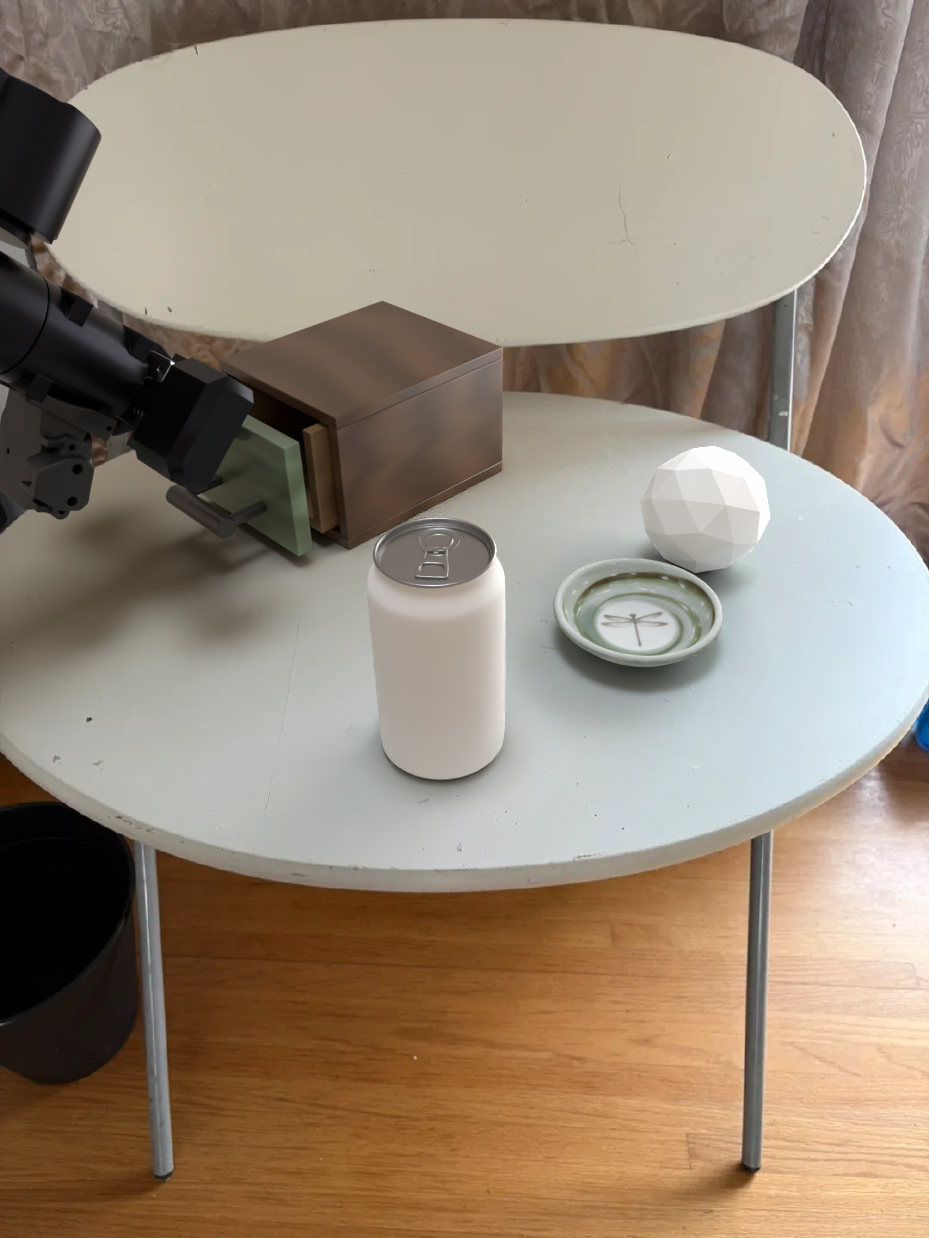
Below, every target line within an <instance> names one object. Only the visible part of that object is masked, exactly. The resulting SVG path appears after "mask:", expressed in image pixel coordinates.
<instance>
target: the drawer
mask: <svg viewBox="0 0 929 1238" xmlns="http://www.w3.org/2000/svg"><path fill="white" fill-rule="evenodd" d="M234 380H236V381H238V382H239V383H241V384H243V385H244V386H246V387H247V388H249V389H251V390H252V391H253V400H254V404H253V406H252V407H251V409H250V411H249V413H248V415H247V417H246V418H245V420H244V422H243V424H242V426H241V428H240V429H239V431H238V433H237V435H236V437H235V439H234V440H233V442H232V444H231V446H230V448H229V450H228V451H227V453H226V455H225V457H224V459H223V461H222V462H221V464H220V466H219V468H218V470H217V472H216V473H215V475H214V477H213V479H212V481H211V483H210V484H209V486H208V488H206V489H204V490H202V491H200V492H198V493H195V492H193V491H191V490H189V489H186V488H184V487H182V486H180V485H178V484H172V485H171V486H169V488H168V489H167V491H166V493H165V499H166V501H167V503H168V504H170V505H171V506H172V507H174V508H176V509H177V510H179V511H180V512H181V513H183V515H184V514H185V516H187V517H189V518H190V519H192V520H193V521H194V522H196V523H198V524H199V525H201V526H202V527H203V528H205V529H206V530H209V532H211V533H212V534H214V535H215V536H217V537H218V538H220V539H228V538H230V537H231V536H232V535H233V534H234V533H235V531H236V527H237V526H239V525H241V524H244V523H246V524H247V525H249V526H251V527H252V528H253V529H255V530H257V531H258V532H260V533H261V534H263V535H265V536H266V537H268V538H269V539H270V540H272V541H274V542H275V543H277V544H279V545H280V546H282V547H283V548H285V549H286V550H288V551H289V552H290V553H292V554H294V555H295V556H297V557H301V556H303V555H305V554H307V553H309V552H311V551H313V550H314V548H313V540H312V533H311V528H313V529H314V530H316V531H318V532H319V533H321V534H323V533H324V532H326V531H328V530H330V529H332V528H334V527H336V526H338V525H340V522H339V513H338V504H337V494H336V485H335V476H334V467H333V457H332V448H331V439H330V430H329V425H327V424H325V423H323V422H321V421H319V420H317V419H315V418H313V417H311V416H309V415H307V414H305V413H304V412H302V411H300V410H298V409H296V408H294V407H292V406H290V405H288V404H286V403H284V402H282V401H280V400H278V399H276V398H274V397H272V396H270V395H269V394H267V393H265V392H263V391H261V390H259V389H257V388H255V387H253V386H251V385H249V384H247V383H245V382H243V381H241V380H239V379H234ZM199 495H203V496H204V497H206V498H208V499H209V500H210V501H212V502H213V503H216V504H217V505H218V506H220V507H221V508H223V509H224V510H226V511H227V512H228V513H230V515H228V514H226V513H224V512H222V511H221V510H220V509H218V508H217V507H215V506H214V505H212V504H210V502H207V501H206V500H204V499H202V497H200V496H199Z"/></svg>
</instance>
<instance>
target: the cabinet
mask: <svg viewBox="0 0 929 1238" xmlns="http://www.w3.org/2000/svg"><path fill="white" fill-rule="evenodd" d="M218 363H219V369H220V372H222V373H224V374H226V375H228V376H230V377H231V378H233V379H239V380H241V381H243V382H245V383H247V384H249V385H251V386H253V387H255V388H257V389H259V390H261V391H263V392H265V393H267V394H269V395H270V396H272V397H274V398H276V399H278V400H280V401H282V402H284V403H286V404H288V405H290V406H292V407H294V408H296V409H298V410H300V411H302V412H304V413H305V414H307V415H309V416H311V417H313V418H315V419H317V420H319V421H321V422H323V423H325V424H327V425H329V430H330V439H331V448H332V457H333V467H334V476H335V485H336V494H337V504H338V513H339V522H340V525H338V526H336V527H334V528H332V529H330V530H328V531H326V532H324V533H322V535H325V536H326V537H328V538H329V539H331V540H333V541H335V542H337V544H339V545H341V546H343V547H344V548H346V549H348V550H352V549H353V548H355V547H357V546H359V545H361V544H362V543H365V542H366V541H367V542H368V541H369V540H371V539H372V538H374V537H377V536H379V535H380V534H382V533H385V532H387V531H388V530H390V529H391V528H393V527H395V526H397V525H400V524H402V523H404V522H406V521H407V520H410V519H411V518H413V517H414V516H417V515H419V514H420V513H422V512H424V511H426V510H428V509H430V508H433V507H434V506H436V505H439V504H440V503H442V502H444V501H447V500H448V499H450V498H452V497H453V496H455V495H457V494H459V493H462V492H463V491H465V490H467V489H469V488H471V487H473V486H475V485H477V484H479V483H480V482H482V481H485V480H486V479H488V478H490V477H492V476H494V475H496V474H498V473H500V472H501V471H503V412H504V411H503V408H504V407H503V406H504V405H503V401H504V400H503V399H504V398H503V396H504V395H503V391H504V389H503V387H504V385H503V382H504V381H503V380H504V379H503V378H504V373H503V371H504V348H503V346H501V345H499V344H496V343H493V342H490V341H488V340H485V339H483V338H481V337H478V336H475V335H473V334H470V333H467V332H465V331H462V330H459V329H457V328H454V327H451V326H449V325H446V324H444V323H442V322H439V321H436V320H434V319H431V318H428V317H426V316H424V315H421V314H418V313H415V312H413V311H411V310H408V309H405V308H404V307H401V306H397V305H396V304H393V303H389V302H387V301H384V300H380V301H377V302H374V303H371V304H369V305H366V306H364V307H361V308H358V309H355V310H351V311H349V312H346V313H344V314H341V315H338V316H336V317H333V318H330V319H327V320H323V321H321V322H319V323H316V324H313V325H311V326H307V327H304V328H302V329H299V330H296V331H293V332H291V333H287V334H284V335H283V336H279V337H277V338H275V339H272V340H268V341H266V342H263V343H260V344H257V345H255V346H252V347H249V348H246V349H243V350H241V351H238V352H235V353H232V354H229V355H226V356H224V357H221V358H219V359H218Z"/></svg>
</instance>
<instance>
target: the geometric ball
mask: <svg viewBox="0 0 929 1238" xmlns="http://www.w3.org/2000/svg"><path fill="white" fill-rule="evenodd" d="M646 487H647V488H646V489H645V491H644V493H643V495H642V498H641V500H640V507H641V513H642V521H643V526H644V531H645V534H646V535H647V538H648V539H649V541H650V542H651V543H652V545H653V546H654V547H655V549H656V550H657V552H658V553H659V554H660V556H661V557H662V558H663V559H664V560H666V561H668V562H670V563H673V564H674V565H676V566H678V567H680V568H682V569H684V570H686V571H688V572H691V573H694V574H697V573H703V572H704V573H705V572H709V571H716V570H721V569H728V568H730V567H732V566H733V565H735V564H737V563H738V562H739V561H740V560H742V559H743V558H745V557H746V556H747V555H748V554H750V553H752V552H753V550H754V549H755V548H756V546H757V545H758V543H759V541H760V540H761V537H762V536H763V534H764V531H765V529H766V528H767V525H768V523H769V522H770V520H771V513H770V512H771V511H770V506H769V501H768V496H767V490H766V484H765V479H764V478H763V477H762V476H761V475H760V474H759V473H758V472H757V471H756V470H755V469H754V468H753V467H752V466H751V465H750V464H749V463H748V462H747V461H746V460H745V459H743V458H742V457H740V456H739V455H737V454H736V453H735V452H732V451H729V450H727V449H723V448H721V447H718V446H715V445H712V446H704V447H703V446H702V447H695V448H690V449H689V450H686V451H683V452H681V453H679V454H678V455H676V456H674V457H672V458H671V459H669V460H668V461H666V462H664V463H663V464H661V465H659V466H658V467H656V469H655V471H654V472H653V475H652V477H651V479H650V481H649V483H648V485H647V486H646Z"/></svg>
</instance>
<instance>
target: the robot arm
mask: <svg viewBox="0 0 929 1238" xmlns="http://www.w3.org/2000/svg"><path fill="white" fill-rule="evenodd" d="M101 141H102V134H101V132H100V130H99V128H98V127H97V125H95V123H94V122H93V121H92V120H91V119H90V118H89V117H88V116H86V114H85V113H83V112H82V111H81V110H80V109H78V108H77V107H76V106H75V105H73V104H71V103H69V102H66V101H65V102H64V101H61V100H59V99H57V98H56V97H54V96H53V95H51V94H50V93H48V92H46V91H44V90H42V89H41V88H38V87H37V86H35V85H33V84H31V83H30V82H28V81H25V80H23V79H20V78H18V77H16V76H13V75H11V74H10V73H8V72H7V71H6V70H4V69H3V68H2V67H1V66H0V241H1V242H2V243H4V244H7V245H10V246H12V247H14V248H18V249H22V250H28V249H29V248H30V246H31V244H32V241H33V237H34V238H35V239H38V240H40V241H42V242H44V243H46V244H48V245H53V243H54V241H57V240H58V239H59V236H60V234H61V232H62V229H63V227H64V224H65V222H66V220H67V218H68V216H69V213H70V211H71V209H72V207H73V205H74V202H75V200H76V197H77V196H78V193H79V191H80V189H81V187H82V185H83V182H84V179H85V178H86V176H87V173H88V171H89V168H90V166H91V164H92V162H93V159H94V157H95V155H96V153H97V150H98V148H99V146H100V143H101ZM32 236H33V237H32ZM0 385H2V386H4V387H6V388H7V389H8V392H7V397H6V401H5V406H4V408H3V410H2V412H1V416H0V491H1V492H2V493H3V494H4V495H5V496H7V497H8V499H10V500H12V501H13V502H14V503H15V504H17V505H18V506H19V507H20V508H22V509H23V510H26V511H27V510H28V511H29V510H30V511H31V510H32V511H34V512H36V513H43V514H49V515H50V516H52V517H54V519H56V520H58V521H61V520H62V521H63V520H65V519H66V518H67V517H69V515H70V513H71V512H77V511H81V510H83V509H84V508H85V507H86V506H87V505H88V504H89V501H90V497H91V492H92V484H93V478H94V473H95V467H94V465H93V464H92V462H91V456H92V452H93V439H92V436H94V437H96V438H98V439H100V440H103V441H104V442H109V440H110V439H111V436H113V437H117V436H120V435H124V434H127V433H129V432H131V433H130V435H129V437H128V439H127V441H126V443H125V445H126V446H127V447H129V448H131V449H132V450H133V451H135V456H136V459H137V461H139V462H141V463H142V464H144V465H145V466H147V467H148V468H150V469H152V470H153V471H155V472H156V473H158V474H159V475H161V476H162V477H163V478H165V479H167V480H168V481H170V482H172V483H174V484H175V485H177V484H178V485H180V486H182V487H184V488H186V489H189V490H191V491H193V492H195V493H198V492H200V491H202V490H204V489H206V488H208V486H209V484H210V483H211V481H212V479H213V477H214V475H215V473H216V472H217V470H218V468H219V466H220V464H221V462H222V461H223V459H224V457H225V455H226V453H227V451H228V450H229V448H230V446H231V444H232V442H233V440H234V439H235V437H236V435H237V433H238V431H239V429H240V428H241V426H242V424H243V422H244V420H245V418H246V417H247V415H248V413H249V411H250V409H251V407H252V406H253V404H254V400H253V391H252V390H251V389H249V388H247V387H246V386H244V385H243V384H241V383H239V382H238V381H236V380H234V379H233V378H231V377H230V376H228V375H226V374H224V373H222V372H221V370H218V369H216V368H214V367H213V366H212V365H211V366H210V365H208V364H207V363H205V362H203V361H201V360H199V359H197V358H195V357H193V356H192V357H188V358H187V357H185V356H183V355H181V354H179V353H177V352H175V353H174V354H173V356H171V354H170V353H169V352H168V350H166V348H165V347H164V346H163V345H162V344H160V343H158V342H156V341H155V340H152V339H151V338H149V337H148V336H146V335H144V334H143V333H142V332H139V331H137V330H135V329H133V328H131V327H129V326H128V325H126V324H124V323H121V322H119V321H118V320H116V319H115V318H113V317H111V316H110V315H108V314H107V313H106V312H104V311H102V310H100V309H99V308H97V307H96V306H95V304H93V303H91V302H90V301H88V300H86V299H84V298H83V297H81V296H80V295H78V294H76V293H75V292H73V291H70V290H69V289H67V288H65V287H62V286H61V285H59V284H57V283H55V282H53V281H51V280H50V279H49V278H47V277H45V276H44V275H42V274H40V273H39V272H37V271H35V270H34V269H32V268H30V267H28V266H27V265H25V264H24V263H22V262H21V261H18V260H17V259H16V258H14V257H12V256H10V255H8V254H7V253H5V252H4V251H2V250H0Z"/></svg>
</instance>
